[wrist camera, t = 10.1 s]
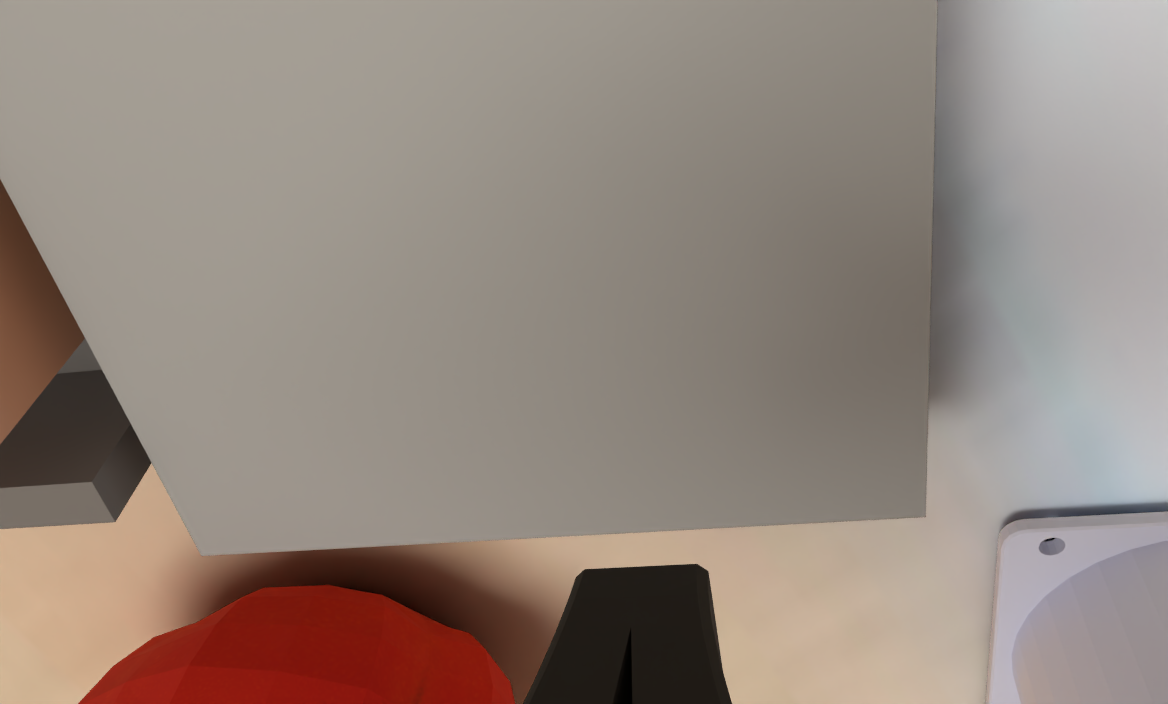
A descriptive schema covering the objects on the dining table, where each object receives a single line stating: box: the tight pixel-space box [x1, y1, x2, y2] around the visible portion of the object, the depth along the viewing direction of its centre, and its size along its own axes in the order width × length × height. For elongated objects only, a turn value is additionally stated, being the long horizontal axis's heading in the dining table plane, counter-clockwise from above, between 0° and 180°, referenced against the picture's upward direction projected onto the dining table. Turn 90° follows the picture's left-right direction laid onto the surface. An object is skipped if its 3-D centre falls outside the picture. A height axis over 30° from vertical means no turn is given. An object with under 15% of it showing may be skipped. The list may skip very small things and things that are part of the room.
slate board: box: [0, 0, 938, 556], centre depth 17 cm, size 14×14×3 cm
